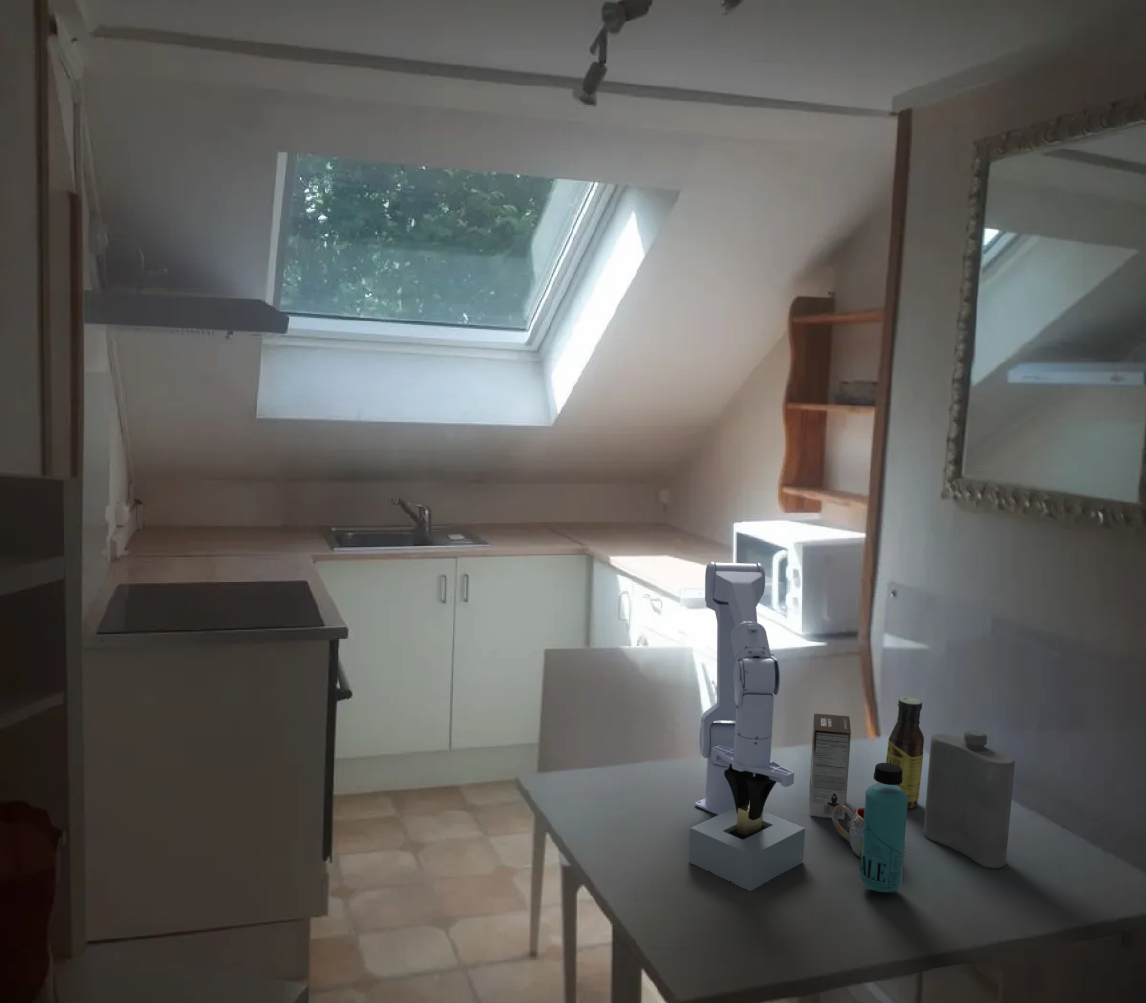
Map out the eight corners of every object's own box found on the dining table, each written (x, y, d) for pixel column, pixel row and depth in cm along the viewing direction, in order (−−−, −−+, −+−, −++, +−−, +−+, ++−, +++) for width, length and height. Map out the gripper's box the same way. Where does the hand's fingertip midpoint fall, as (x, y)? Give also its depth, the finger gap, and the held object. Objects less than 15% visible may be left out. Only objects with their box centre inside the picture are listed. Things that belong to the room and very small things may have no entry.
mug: (901, 858, 169) (905, 819, 168) (872, 867, 165) (875, 827, 165) (847, 828, 179) (850, 791, 178) (818, 836, 176) (821, 798, 175)
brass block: (751, 825, 167) (753, 801, 167) (761, 829, 166) (763, 805, 165) (736, 832, 164) (738, 807, 164) (746, 836, 163) (748, 812, 163)
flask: (1015, 863, 168) (1026, 745, 165) (992, 872, 165) (1003, 751, 162) (939, 827, 181) (949, 716, 178) (917, 834, 178) (926, 721, 175)
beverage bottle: (902, 885, 160) (912, 761, 157) (901, 906, 153) (911, 777, 151) (859, 877, 162) (867, 754, 159) (855, 898, 156) (864, 770, 153)
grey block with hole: (742, 836, 175) (744, 803, 174) (803, 862, 166) (805, 828, 165) (688, 862, 165) (690, 827, 164) (750, 891, 156) (752, 855, 156)
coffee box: (807, 795, 192) (813, 712, 190) (843, 799, 191) (849, 715, 189) (808, 816, 183) (814, 729, 181) (846, 820, 182) (852, 732, 180)
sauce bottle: (877, 796, 193) (885, 693, 190) (910, 796, 193) (918, 693, 190) (891, 811, 186) (899, 704, 183) (924, 811, 187) (933, 705, 184)
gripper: (700, 725, 165) (696, 807, 167) (777, 752, 155) (771, 838, 157) (728, 716, 170) (724, 795, 172) (803, 741, 160) (798, 825, 161)
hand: (748, 815), depth 165 cm, fingers closed on brass block, 2 cm apart
